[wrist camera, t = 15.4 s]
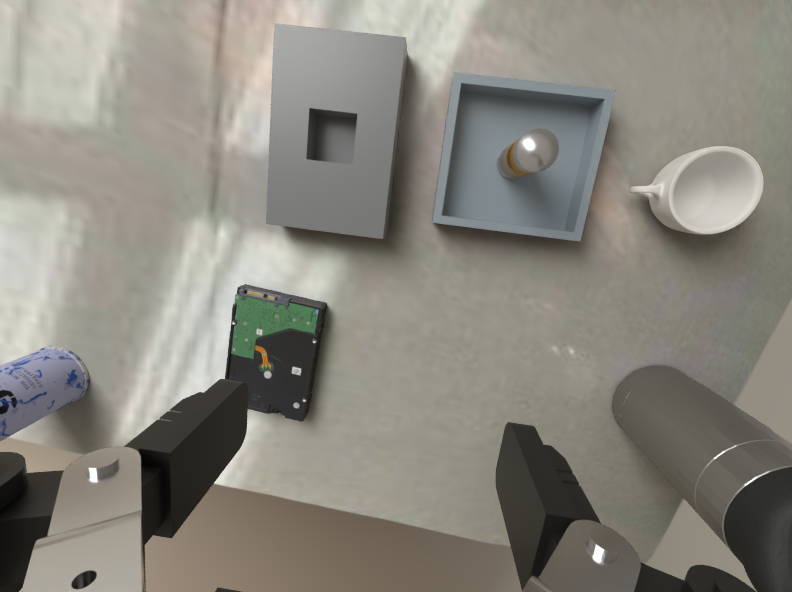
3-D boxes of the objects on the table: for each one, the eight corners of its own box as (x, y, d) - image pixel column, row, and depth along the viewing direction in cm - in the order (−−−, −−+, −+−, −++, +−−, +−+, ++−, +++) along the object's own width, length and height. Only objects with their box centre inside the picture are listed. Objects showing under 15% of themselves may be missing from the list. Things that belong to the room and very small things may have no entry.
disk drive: (311, 410, 49) (328, 300, 45) (304, 422, 46) (322, 307, 42) (232, 393, 49) (243, 282, 45) (221, 404, 46) (231, 287, 43)
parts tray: (598, 100, 38) (616, 90, 34) (567, 238, 41) (580, 241, 38) (451, 84, 38) (453, 72, 35) (431, 221, 42) (432, 222, 38)
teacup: (726, 155, 38) (774, 147, 33) (707, 232, 40) (750, 237, 35) (622, 151, 39) (653, 143, 33) (609, 228, 40) (636, 231, 35)
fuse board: (407, 54, 38) (405, 37, 34) (386, 236, 42) (382, 239, 38) (289, 41, 39) (274, 23, 35) (280, 222, 43) (266, 224, 39)
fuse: (531, 148, 38) (563, 131, 30) (525, 181, 39) (554, 174, 30) (499, 144, 39) (521, 126, 30) (493, 177, 39) (513, 169, 31)
